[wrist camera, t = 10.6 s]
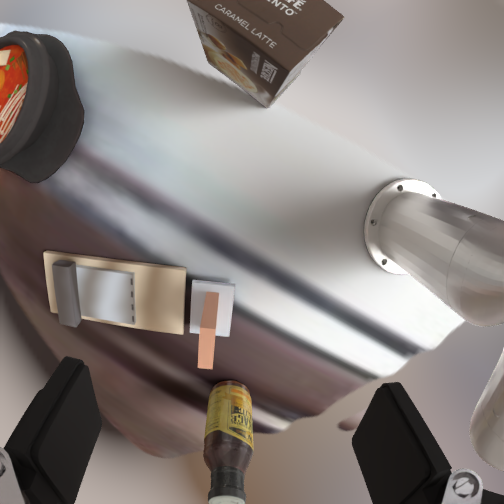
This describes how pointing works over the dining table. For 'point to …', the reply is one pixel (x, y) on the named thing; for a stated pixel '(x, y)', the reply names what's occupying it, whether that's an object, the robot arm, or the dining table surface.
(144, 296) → the ticket board
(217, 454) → the sauce bottle
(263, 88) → the coffee box
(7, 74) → the casserole
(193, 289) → the tan and white stand
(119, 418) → the dining table surface
